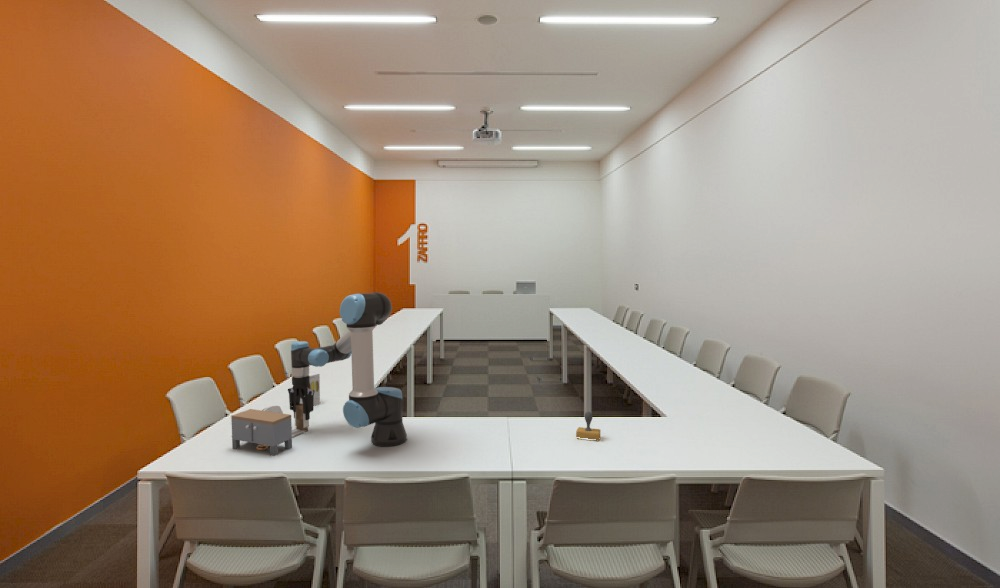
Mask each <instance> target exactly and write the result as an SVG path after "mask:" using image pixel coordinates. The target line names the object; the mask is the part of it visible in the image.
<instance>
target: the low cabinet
mask: <svg viewBox="0 0 1000 588" xmlns="http://www.w3.org/2000/svg"><path fill="white" fill-rule="evenodd" d="M261 410H262V409H261ZM261 410H260V409H253V408H249V409H247V410H244V411H241V412H238V413H235V414H233V415H231V416H230V419H231V442H232V444H231V446H232V449H233V450H238V449H240V448H241V442H245V443H246V442H247V443H250V444H258V445H261V444H263V445H268V447H269V456H271V457H275V456H277V455H278V454H279V453H278V445H280V444H282V443H284V449H285V450H286V449H287V450H290V449H292V448H293V438H292V430H293V429H292V427H293V426H292V414H288V413H283V414H282V413H275V412H268V411H261Z"/></svg>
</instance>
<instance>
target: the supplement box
mask: <svg viewBox="0 0 1000 588" xmlns="http://www.w3.org/2000/svg"><path fill="white" fill-rule="evenodd" d="M320 375H321V374H320V373H319V372H313V371H309V376H310V383H309V388H310V390H314V391H315V392H314V402H313V407H314V405H315V406H318V405H317V404H319V405H320V404H321V395H320V394H321V390H320V389H321V388H320V387H321V386H320V383H321V382H320V381H321V380H320V379H321V377H320ZM300 403H301V404H303V402H302V399H301V398H300Z"/></svg>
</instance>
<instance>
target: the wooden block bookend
mask: <svg viewBox="0 0 1000 588" xmlns="http://www.w3.org/2000/svg"><path fill="white" fill-rule="evenodd" d="M303 413H304V407H303V404H301V403H300V404H298V405H296V426H295V428H294V429H292V439H293V438H296V437H298V436H301V435H303V434H304V433H306V432H307V431H309V426H307V427H305V428H303Z"/></svg>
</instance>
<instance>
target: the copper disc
mask: <svg viewBox="0 0 1000 588" xmlns="http://www.w3.org/2000/svg"><path fill="white" fill-rule="evenodd" d="M255 447H256V450H257V451H265V450H267V448H268V449H269V446H268V445H263V444H258V445H256V446H255Z"/></svg>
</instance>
